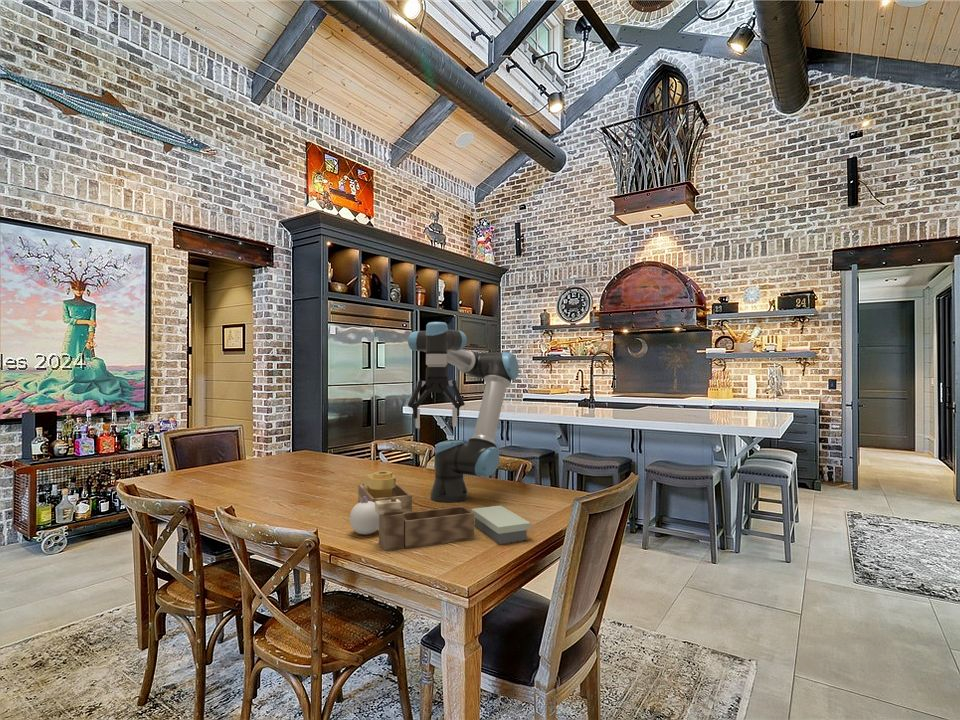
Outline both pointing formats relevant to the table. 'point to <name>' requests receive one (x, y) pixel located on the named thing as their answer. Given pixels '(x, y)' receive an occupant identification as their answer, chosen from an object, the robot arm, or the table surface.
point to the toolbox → (425, 527)
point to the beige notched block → (387, 505)
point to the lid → (501, 519)
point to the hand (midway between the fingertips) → (436, 427)
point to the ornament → (364, 517)
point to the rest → (502, 537)
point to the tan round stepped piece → (380, 484)
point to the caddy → (396, 492)
